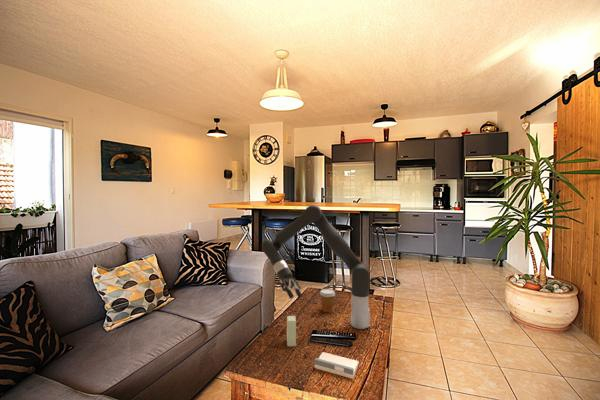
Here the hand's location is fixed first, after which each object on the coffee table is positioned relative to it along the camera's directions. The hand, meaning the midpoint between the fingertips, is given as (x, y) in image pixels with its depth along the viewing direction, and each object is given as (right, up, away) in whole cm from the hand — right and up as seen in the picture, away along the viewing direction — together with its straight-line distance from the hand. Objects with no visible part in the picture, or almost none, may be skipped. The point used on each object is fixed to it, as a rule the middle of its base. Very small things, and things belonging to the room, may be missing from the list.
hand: (296, 297), depth 142 cm
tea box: (-3, -19, -8) cm, 21 cm away
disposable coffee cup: (+19, -19, +30) cm, 40 cm away
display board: (+17, -20, -26) cm, 37 cm away
